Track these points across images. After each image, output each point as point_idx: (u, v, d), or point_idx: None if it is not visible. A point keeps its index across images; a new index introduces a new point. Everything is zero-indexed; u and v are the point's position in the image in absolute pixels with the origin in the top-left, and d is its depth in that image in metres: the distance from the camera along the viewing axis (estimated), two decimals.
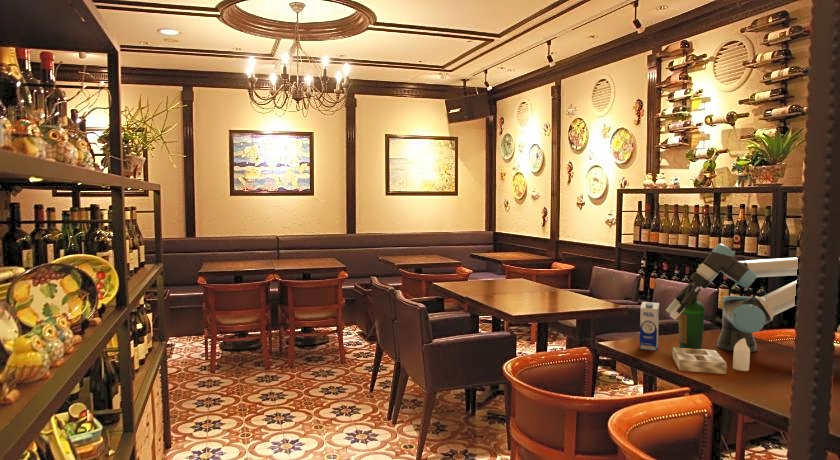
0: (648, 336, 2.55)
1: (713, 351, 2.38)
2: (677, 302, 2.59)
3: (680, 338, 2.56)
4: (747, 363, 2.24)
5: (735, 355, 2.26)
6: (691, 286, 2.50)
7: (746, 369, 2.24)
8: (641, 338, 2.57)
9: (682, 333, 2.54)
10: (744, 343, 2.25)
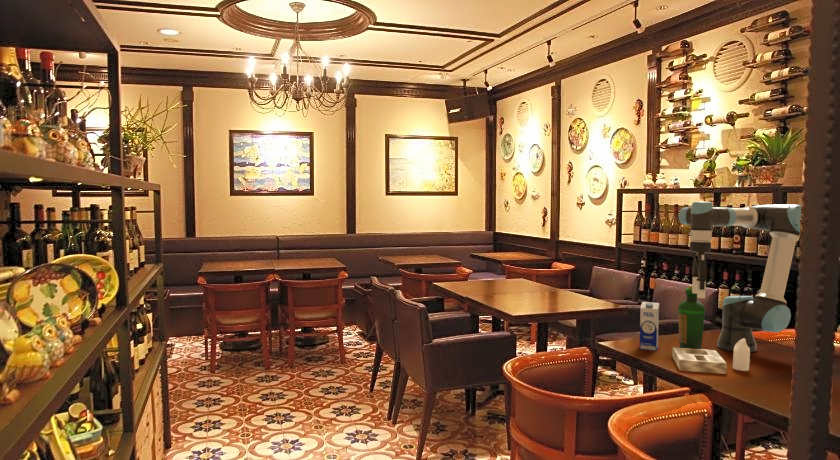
0: (648, 336, 2.55)
1: (713, 351, 2.38)
2: (697, 278, 2.37)
3: (680, 338, 2.56)
4: (747, 363, 2.24)
5: (735, 355, 2.26)
6: (696, 257, 2.30)
7: (746, 369, 2.24)
8: (641, 338, 2.57)
9: (682, 333, 2.54)
10: (744, 343, 2.25)
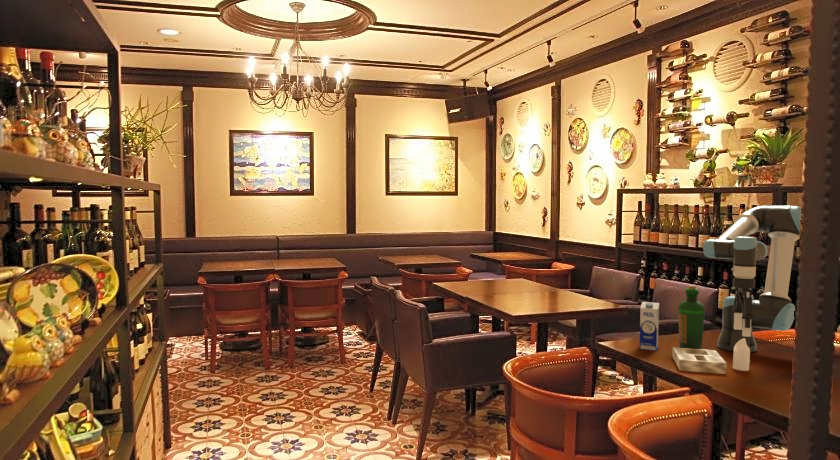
0: (648, 336, 2.55)
1: (713, 351, 2.38)
2: (738, 314, 2.32)
3: (680, 338, 2.56)
4: (747, 363, 2.24)
5: (735, 355, 2.26)
6: (740, 293, 2.24)
7: (746, 369, 2.24)
8: (641, 338, 2.57)
9: (682, 333, 2.54)
10: (744, 343, 2.25)
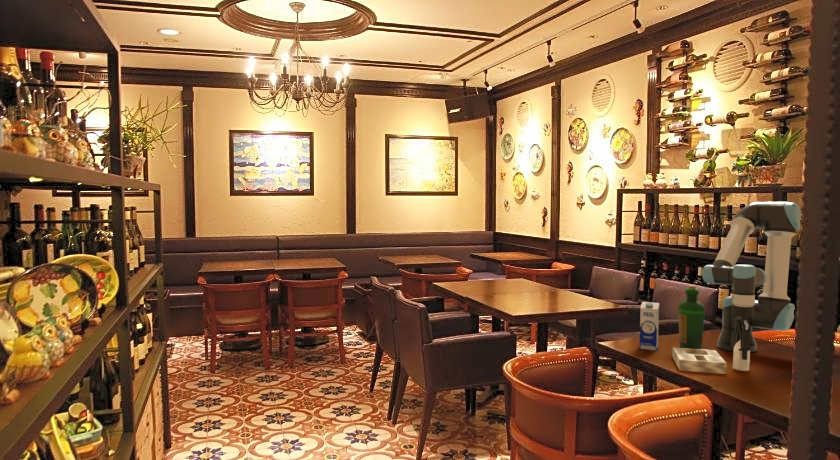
0: (648, 336, 2.55)
1: (713, 351, 2.38)
2: None
3: (680, 338, 2.56)
4: None
5: (735, 355, 2.26)
6: (739, 322, 2.25)
7: (746, 369, 2.24)
8: (641, 338, 2.57)
9: (682, 333, 2.54)
10: None
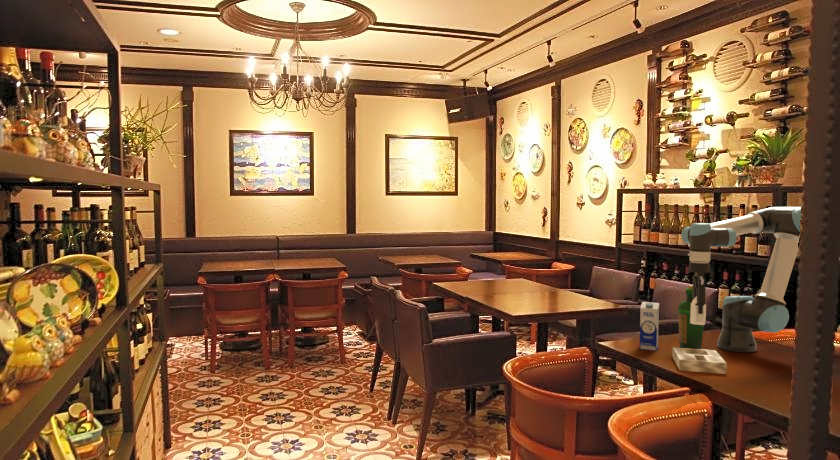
0: (648, 336, 2.55)
1: (713, 351, 2.38)
2: None
3: (680, 338, 2.56)
4: None
5: (692, 310, 2.35)
6: (696, 278, 2.34)
7: (702, 323, 2.33)
8: (641, 338, 2.57)
9: (682, 333, 2.54)
10: None
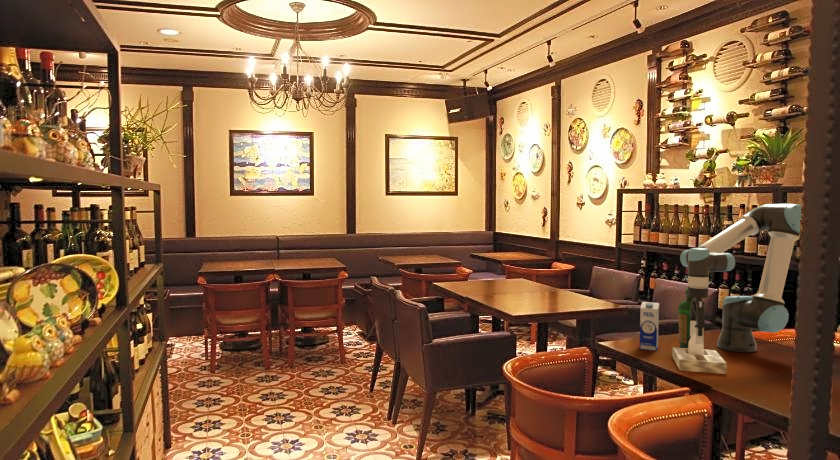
0: (648, 336, 2.55)
1: (713, 351, 2.38)
2: (694, 322, 2.42)
3: (680, 338, 2.56)
4: None
5: (690, 348, 2.36)
6: (694, 303, 2.34)
7: None
8: (641, 338, 2.57)
9: (682, 333, 2.54)
10: None
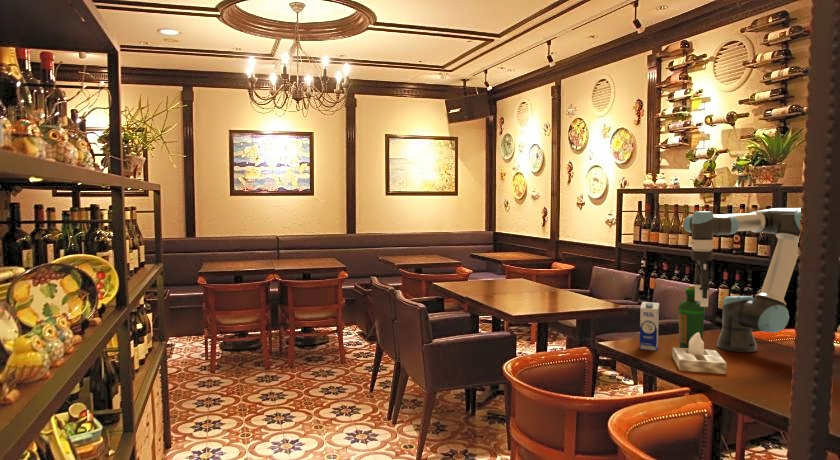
0: (648, 336, 2.55)
1: (713, 351, 2.38)
2: (699, 286, 2.42)
3: (680, 338, 2.56)
4: None
5: (690, 348, 2.36)
6: (698, 266, 2.34)
7: None
8: (641, 338, 2.57)
9: (682, 333, 2.54)
10: (698, 337, 2.35)
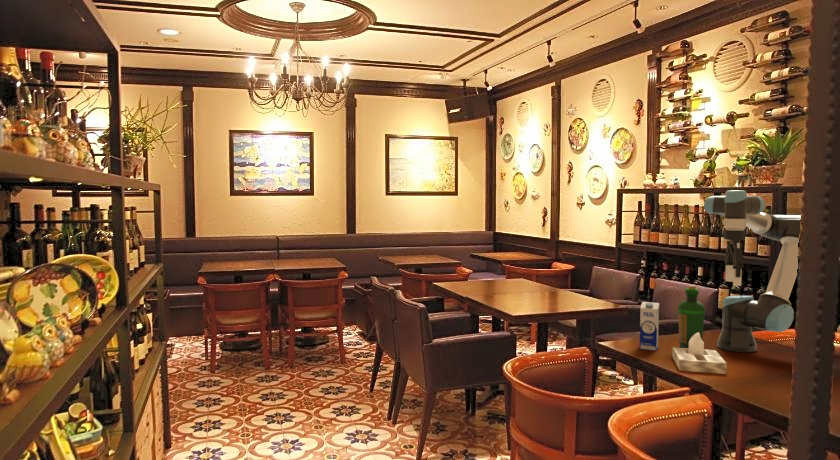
0: (648, 336, 2.55)
1: (713, 351, 2.38)
2: (730, 267, 2.40)
3: (680, 338, 2.56)
4: None
5: (690, 348, 2.36)
6: (731, 245, 2.32)
7: None
8: (641, 338, 2.57)
9: (682, 333, 2.54)
10: (698, 337, 2.35)
